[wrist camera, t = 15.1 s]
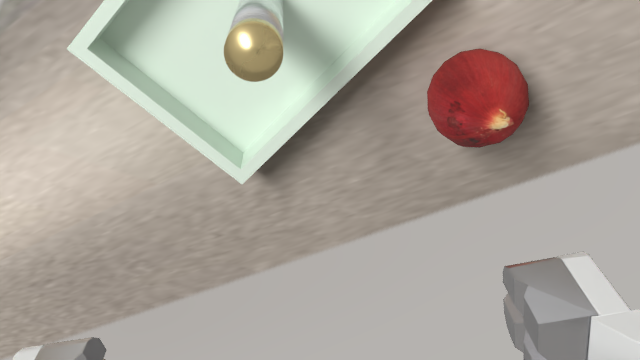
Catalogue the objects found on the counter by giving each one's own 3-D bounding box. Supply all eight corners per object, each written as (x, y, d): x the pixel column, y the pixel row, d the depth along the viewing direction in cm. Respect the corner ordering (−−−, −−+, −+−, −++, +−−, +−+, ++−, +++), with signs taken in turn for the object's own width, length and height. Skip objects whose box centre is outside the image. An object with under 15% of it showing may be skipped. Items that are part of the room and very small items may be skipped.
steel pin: (277, -22, 32) (275, 17, 23) (287, 22, 33) (289, 74, 25) (234, -12, 32) (216, 30, 23) (246, 31, 33) (233, 87, 25)
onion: (463, 133, 38) (503, 191, 31) (398, 92, 37) (425, 144, 30) (520, 65, 36) (577, 111, 29) (454, 17, 34) (497, 54, 27)
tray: (283, -220, 28) (282, -230, 25) (442, -32, 33) (456, -23, 30) (83, 35, 34) (66, 48, 31) (245, 163, 38) (241, 184, 36)
